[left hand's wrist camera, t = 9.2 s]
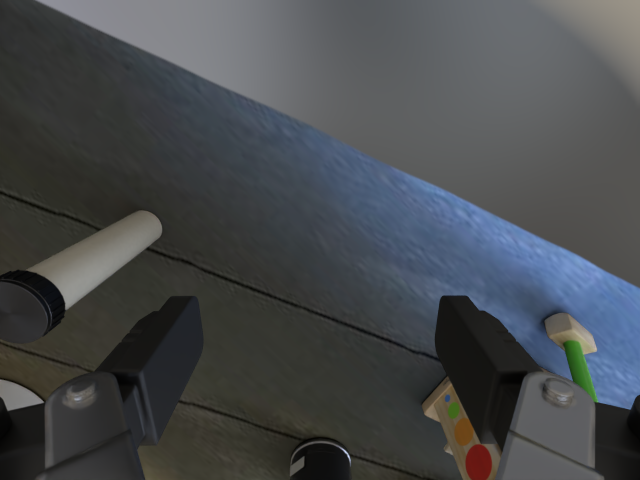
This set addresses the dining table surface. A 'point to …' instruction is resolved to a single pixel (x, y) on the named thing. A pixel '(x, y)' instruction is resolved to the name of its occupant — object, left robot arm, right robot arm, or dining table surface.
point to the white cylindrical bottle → (99, 255)
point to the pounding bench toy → (447, 409)
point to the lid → (28, 306)
